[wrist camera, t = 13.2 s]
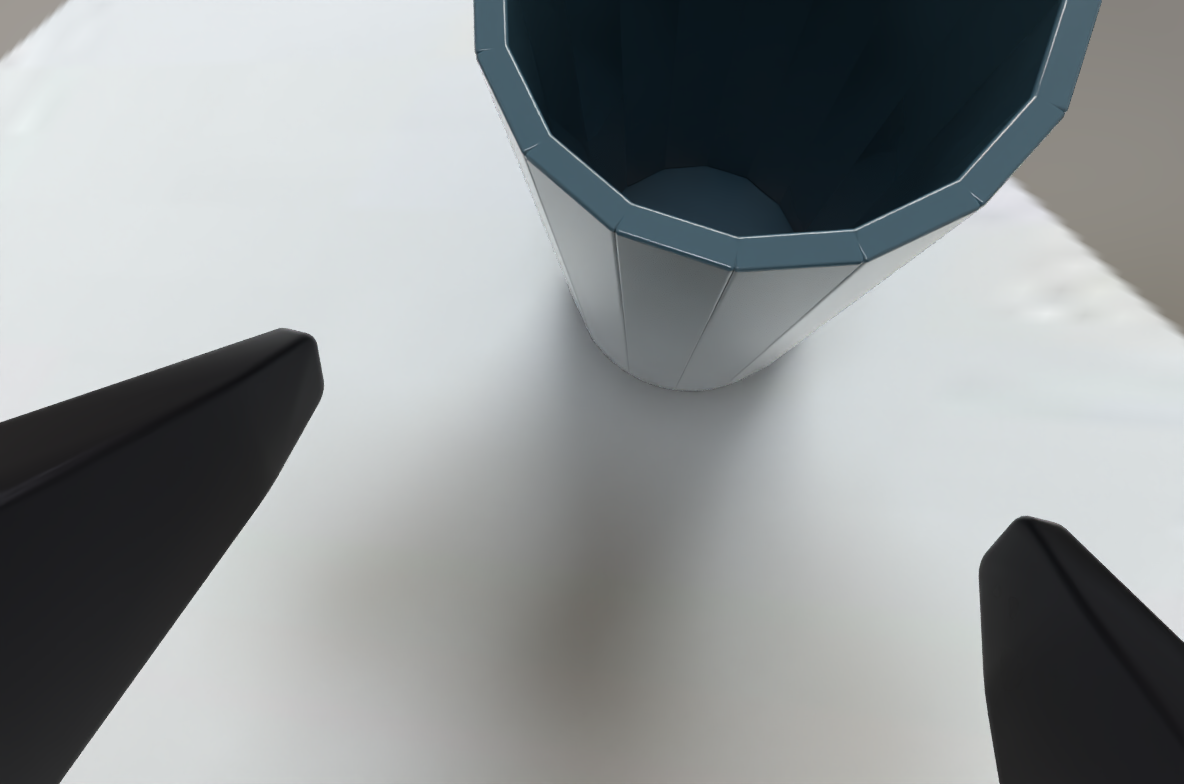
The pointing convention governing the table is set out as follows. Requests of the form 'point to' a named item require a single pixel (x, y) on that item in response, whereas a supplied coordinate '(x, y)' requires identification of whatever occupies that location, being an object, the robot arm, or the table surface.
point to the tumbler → (762, 153)
